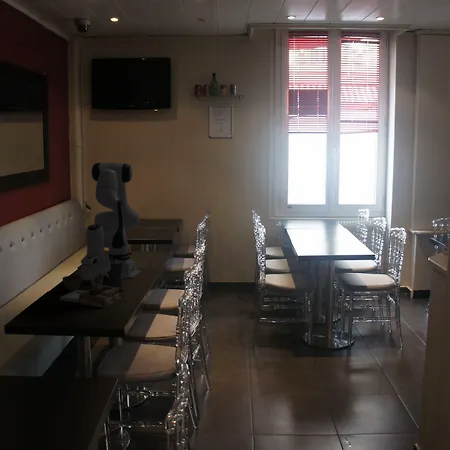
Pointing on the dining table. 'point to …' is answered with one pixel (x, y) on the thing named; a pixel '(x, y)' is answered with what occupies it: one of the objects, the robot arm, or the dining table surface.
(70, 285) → the flower pot
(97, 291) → the sprinkles bottle
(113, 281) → the coffeepot
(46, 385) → the dining table surface
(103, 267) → the robot arm
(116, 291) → the offcut oak
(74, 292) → the tray
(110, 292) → the offcut pine
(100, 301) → the rack
